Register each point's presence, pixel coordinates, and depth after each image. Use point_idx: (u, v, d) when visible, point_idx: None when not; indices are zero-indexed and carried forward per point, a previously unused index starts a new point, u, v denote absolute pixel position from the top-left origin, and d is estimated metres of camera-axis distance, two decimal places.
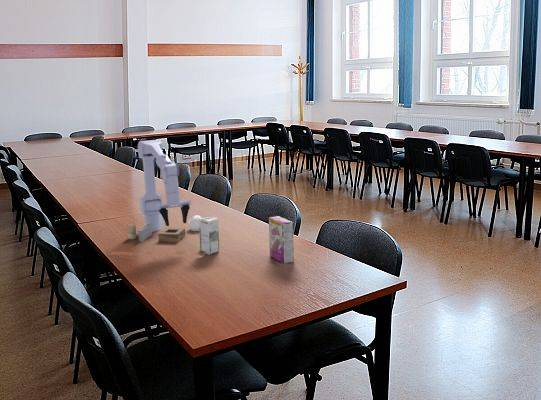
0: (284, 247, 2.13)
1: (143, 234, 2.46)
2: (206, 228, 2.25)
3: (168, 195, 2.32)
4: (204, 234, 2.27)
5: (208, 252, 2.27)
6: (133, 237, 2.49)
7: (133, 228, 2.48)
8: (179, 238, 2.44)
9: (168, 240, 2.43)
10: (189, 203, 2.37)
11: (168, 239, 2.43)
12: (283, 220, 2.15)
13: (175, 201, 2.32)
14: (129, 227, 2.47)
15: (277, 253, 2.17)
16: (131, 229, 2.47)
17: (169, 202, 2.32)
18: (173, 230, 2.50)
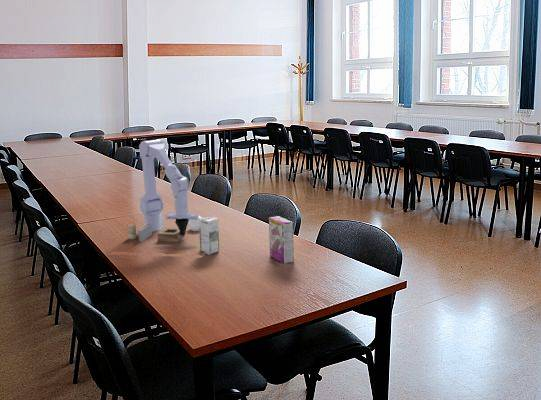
0: (284, 247, 2.13)
1: (143, 234, 2.46)
2: (206, 228, 2.25)
3: (175, 208, 2.43)
4: (204, 234, 2.27)
5: (208, 252, 2.27)
6: (133, 237, 2.49)
7: (133, 228, 2.48)
8: (178, 238, 2.44)
9: (167, 240, 2.43)
10: (195, 218, 2.43)
11: (167, 239, 2.43)
12: (283, 220, 2.15)
13: (179, 215, 2.42)
14: (129, 227, 2.47)
15: (277, 253, 2.17)
16: (131, 229, 2.47)
17: (175, 214, 2.43)
18: (172, 230, 2.50)
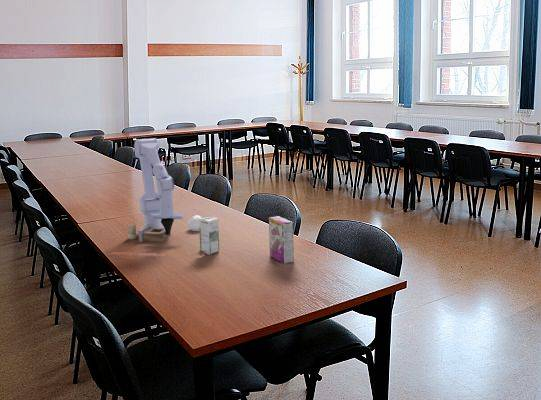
0: (284, 247, 2.13)
1: None
2: (207, 228, 2.25)
3: (160, 207, 2.44)
4: (204, 234, 2.27)
5: (208, 252, 2.27)
6: (133, 237, 2.49)
7: (133, 228, 2.48)
8: (164, 238, 2.45)
9: (153, 240, 2.44)
10: (180, 217, 2.44)
11: (153, 239, 2.44)
12: (283, 220, 2.15)
13: (164, 214, 2.43)
14: (129, 227, 2.47)
15: (277, 253, 2.17)
16: (131, 229, 2.47)
17: (160, 214, 2.44)
18: (158, 230, 2.51)
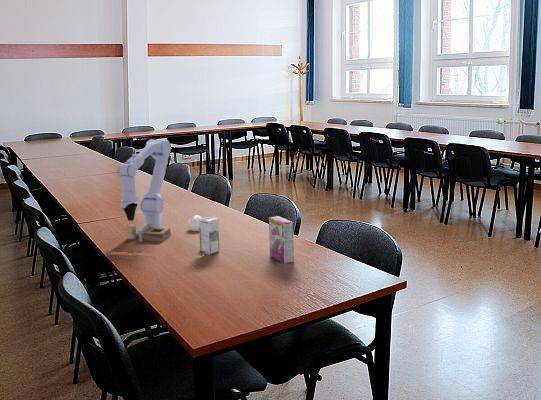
0: (284, 247, 2.13)
1: None
2: (206, 228, 2.25)
3: None
4: (204, 234, 2.27)
5: (208, 252, 2.27)
6: (133, 237, 2.49)
7: (133, 228, 2.48)
8: (164, 238, 2.45)
9: (153, 240, 2.44)
10: None
11: (153, 239, 2.44)
12: (283, 220, 2.15)
13: None
14: (129, 227, 2.47)
15: (277, 253, 2.17)
16: (131, 229, 2.47)
17: None
18: (158, 230, 2.51)
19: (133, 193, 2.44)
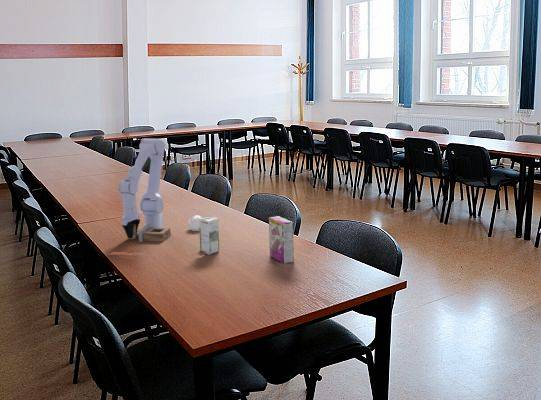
0: (284, 247, 2.13)
1: None
2: (206, 228, 2.25)
3: None
4: (204, 234, 2.27)
5: (208, 252, 2.27)
6: (133, 237, 2.49)
7: None
8: (164, 238, 2.45)
9: (153, 240, 2.44)
10: None
11: (153, 239, 2.44)
12: (283, 220, 2.15)
13: None
14: None
15: (277, 253, 2.17)
16: None
17: None
18: (158, 230, 2.51)
19: (134, 210, 2.46)
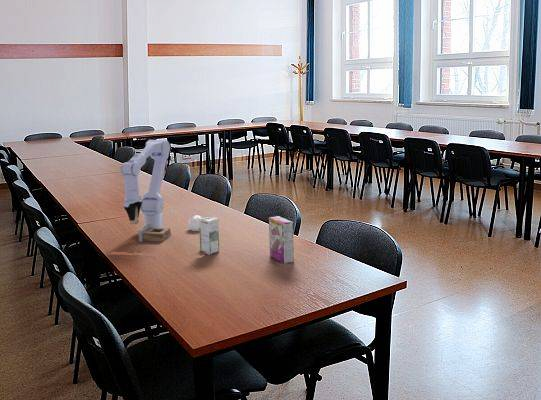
0: (284, 247, 2.13)
1: None
2: (206, 228, 2.25)
3: None
4: (204, 234, 2.27)
5: (208, 252, 2.27)
6: (135, 219, 2.47)
7: None
8: (164, 238, 2.45)
9: (153, 240, 2.44)
10: None
11: (153, 239, 2.44)
12: (283, 220, 2.15)
13: None
14: None
15: (277, 253, 2.17)
16: None
17: None
18: (158, 230, 2.51)
19: (136, 192, 2.44)
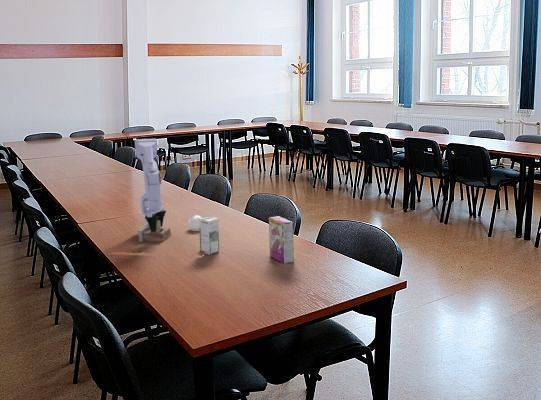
0: (284, 247, 2.13)
1: None
2: (206, 228, 2.25)
3: None
4: (204, 234, 2.27)
5: (208, 252, 2.27)
6: None
7: (158, 223, 2.46)
8: (164, 238, 2.45)
9: (153, 240, 2.44)
10: None
11: (153, 239, 2.44)
12: (283, 220, 2.15)
13: None
14: None
15: (277, 253, 2.17)
16: None
17: None
18: None
19: (159, 202, 2.44)
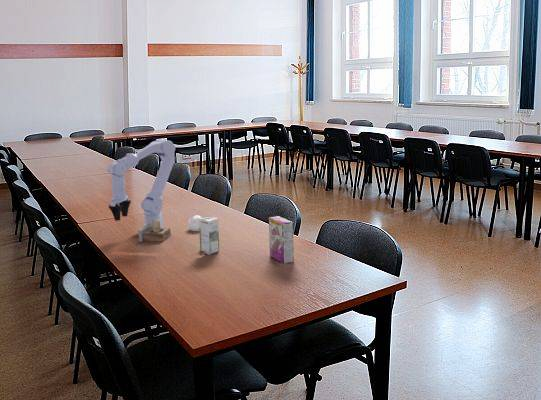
0: (284, 247, 2.13)
1: None
2: (206, 228, 2.25)
3: None
4: (204, 234, 2.27)
5: (208, 252, 2.27)
6: None
7: (158, 223, 2.46)
8: (164, 238, 2.45)
9: (153, 240, 2.44)
10: None
11: (153, 239, 2.44)
12: (283, 220, 2.15)
13: None
14: (154, 222, 2.46)
15: (277, 253, 2.17)
16: (156, 224, 2.46)
17: None
18: None
19: (123, 191, 2.48)
